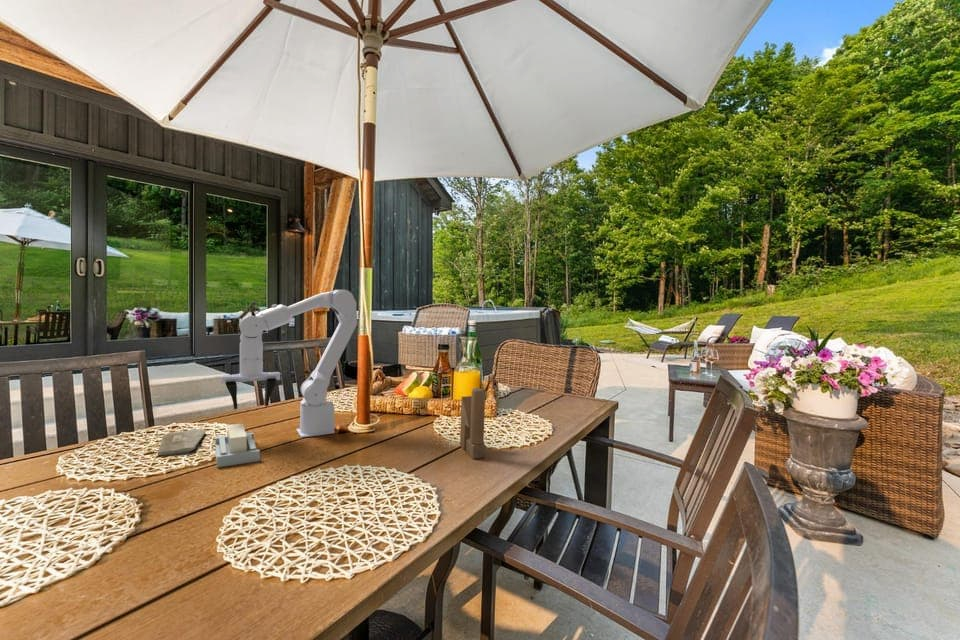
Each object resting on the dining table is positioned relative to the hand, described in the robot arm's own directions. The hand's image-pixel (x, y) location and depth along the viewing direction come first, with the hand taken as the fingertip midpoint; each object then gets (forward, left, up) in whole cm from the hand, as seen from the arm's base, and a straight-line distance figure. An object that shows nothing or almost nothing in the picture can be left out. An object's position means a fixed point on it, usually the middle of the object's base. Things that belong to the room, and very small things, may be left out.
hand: (251, 406), depth 121 cm
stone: (+16, -4, -10) cm, 20 cm away
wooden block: (-50, +37, -10) cm, 63 cm away
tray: (+4, +10, -9) cm, 14 cm away
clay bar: (+4, +10, -8) cm, 14 cm away
